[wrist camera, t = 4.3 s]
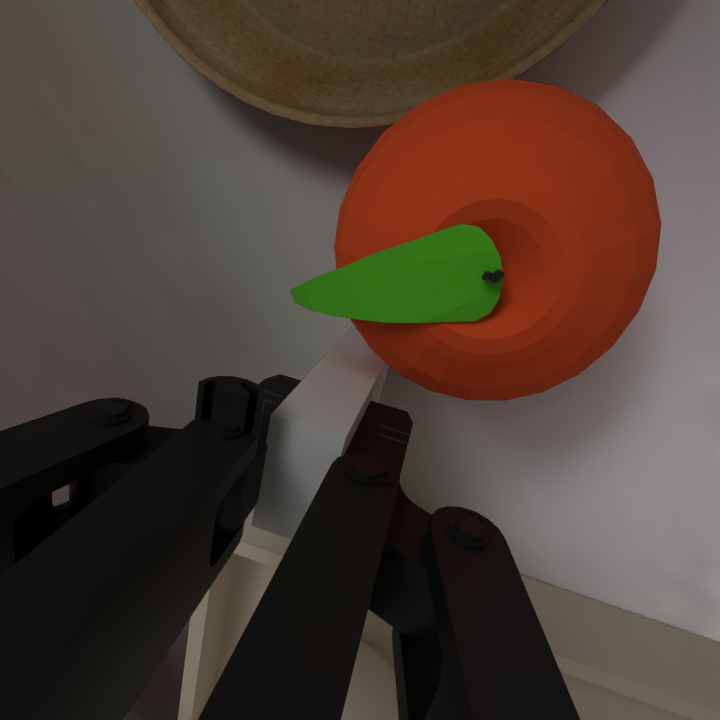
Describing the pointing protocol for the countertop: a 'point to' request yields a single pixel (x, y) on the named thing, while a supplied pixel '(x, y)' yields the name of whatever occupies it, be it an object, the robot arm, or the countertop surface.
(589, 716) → the divided tray
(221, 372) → the countertop surface
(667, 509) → the countertop surface
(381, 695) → the white ball
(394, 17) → the plant saucer
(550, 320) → the clementine
